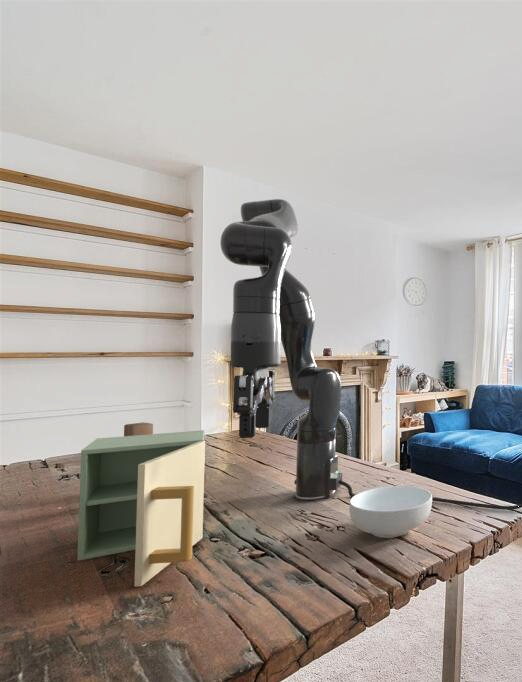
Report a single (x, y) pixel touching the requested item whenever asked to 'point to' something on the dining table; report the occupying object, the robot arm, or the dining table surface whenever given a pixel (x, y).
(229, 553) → the dining table surface
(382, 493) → the cereal bowl
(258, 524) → the dining table surface
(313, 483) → the robot arm
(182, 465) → the cupboard door
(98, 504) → the cupboard
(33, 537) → the dining table surface
